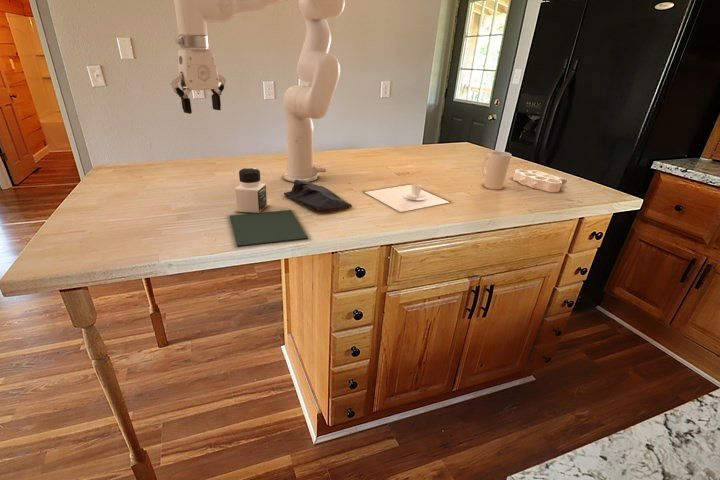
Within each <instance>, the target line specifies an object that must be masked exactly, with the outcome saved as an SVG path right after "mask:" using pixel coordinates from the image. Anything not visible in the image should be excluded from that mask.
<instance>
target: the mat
mask: <svg viewBox="0 0 720 480" xmlns="http://www.w3.org/2000/svg"><path fill="white" fill-rule="evenodd" d="M229 218H230V222H231V227H232V230H233V234H234V235H233V236H234V238H235V242H236V246H237V248H239V247H247V246H258V245H264V244H274V243H285V242H293V241H301V240H308V239H309V237H308V236H307V234H306V232H305V230H304V229H303V227H302V226H301V224H300V223H299V221H298V219H297V218H296V216H295V214H294V213H293V211H292V210H291V209H288V210H287V209H286V210H275V211H274V210H273V211H264V212H262V211H261V212H260V213H243V214H242V213H241V214H231V215H229Z"/></svg>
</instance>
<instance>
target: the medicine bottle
mask: <svg viewBox="0 0 720 480" xmlns="http://www.w3.org/2000/svg"><path fill="white" fill-rule="evenodd" d="M238 176H239V177H238V179H239V185H238V186H236V187H235V188H234V194H235V205H236V212H237V213H238V212H239V213H249V214H251V213H262V211H263V210H264V209H265V208H266V207H267V206H268V201H267V199H268V197H267V185H266V183H264V182H263V183H262V182H261V181H262V179H261V171H260V170H259V169H258V168H255V167H244V168H242V169H240V170H239V171H238Z"/></svg>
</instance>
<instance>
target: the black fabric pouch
mask: <svg viewBox="0 0 720 480" xmlns="http://www.w3.org/2000/svg"><path fill="white" fill-rule="evenodd" d="M283 196H285V197H288V198H290V199H291V200H292V201H294V202H296V203H298V204H302V205H303V206H305V207H306V208H309V209H311V210H313V211H315V212H324V211H331V210H345V209H349V208H352V207H353V205H352V204H351V203H349V202H347V201H345V200H344V199H342V198H341V197H340V196H339V195H337V194H336V193H335V192H333V191H332V190H330V189H328V188H327V187H325V186H323V185H319V184H314V183H313V182H311V181H310V182H307V181H300V180H295V181H294V182H293V186H292V188H291V190H290V191H286V192H284V193H283Z"/></svg>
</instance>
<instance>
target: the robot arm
mask: <svg viewBox="0 0 720 480" xmlns="http://www.w3.org/2000/svg"><path fill="white" fill-rule="evenodd" d="M286 1H287V0H173V4H174V11H175V17H176V18H175V19H176V25H177V32H178V34H177V35H178V36H177V38H175V39H174V42H175V44H176V45H179V48H180V49H179V48H178V54H177V62H178V63H177V65H178V74H177V75H176V76H174V77H172V78H171V79H170V80H169V85H170V87H171V88H172V89H173V92H174V93H175V94H176V95H177V96H178V97H179V98H180V101H181V108H182V111H183V113H184V114H189V115H191V114H192V113H193V110H192V103H191V99H190V97H189V95H190V93H191V92H192V91H195V92H196V91H210V92H211V93H212V94H211V105H212V110H215V111H221V110H222V103H221V96H222V92H223V91H224V89H225V85H226V82H227V79H226V78H225V77H224V76H222V75H221V74H219V73H218V67H217V62H216V58H215V57H216V56H215V55H214V51H213V49H210V42H209V40H210V39H209V33H208V24H220V23H227V22H230V21H232V20H233V18H235V16H236V14H241V13H247V12H255V11H260V10H264V9H267V8H269V7H272V6H274V5H278V4H280V3H283V2H286ZM345 4H346V0H298V9H299V13H300V14H301V16H302V19H303V21H304V25H305V38H304V41H303V44H302V49H301V52H300V55H299V58H298V62H297V65H296V75H297V76H296V77H297V78H298V79H299V81H301V82H303V83H305V84H309V85H311V86H308V85H301V84H299V85H291V86H290V87H288V88H287V89H286V90H285V91H284V95H283V98H282V104H283V110H284V116H285V121H286V157H287V159H286V161H287V171H286V172H284V174H283V179H284V180H286V181H288V182H291V183H294V181H295V180H300V181H307V182H310V183H311V182H314V181H316V180H317V179H318V173H326V172H327V167H326V166H320V165H318V166H316V165H314V135H315V134H314V133H315V131H314V123H313V120H319V119H322V118H325V116H326V115H327V113H329V112H328V111H329V110H330V107H331V104H332V103H333V98H334V97H335V96H334V95H335V93H336V89H337V86H338V83H339V80H340V75H341V66H340V65H341V64H340V61H339V59H338V58H337V57H336V56H335V55H334V54H333V53H330V52H329V50H330V47H331V43H332V32H331V29H330V25H329V23H328V19H329V20H330V19H336V18H338V17H340V15H342V13H343V11H344V9H345V6H346V5H345ZM179 83H180V87H179ZM312 119H313V120H312Z"/></svg>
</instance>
